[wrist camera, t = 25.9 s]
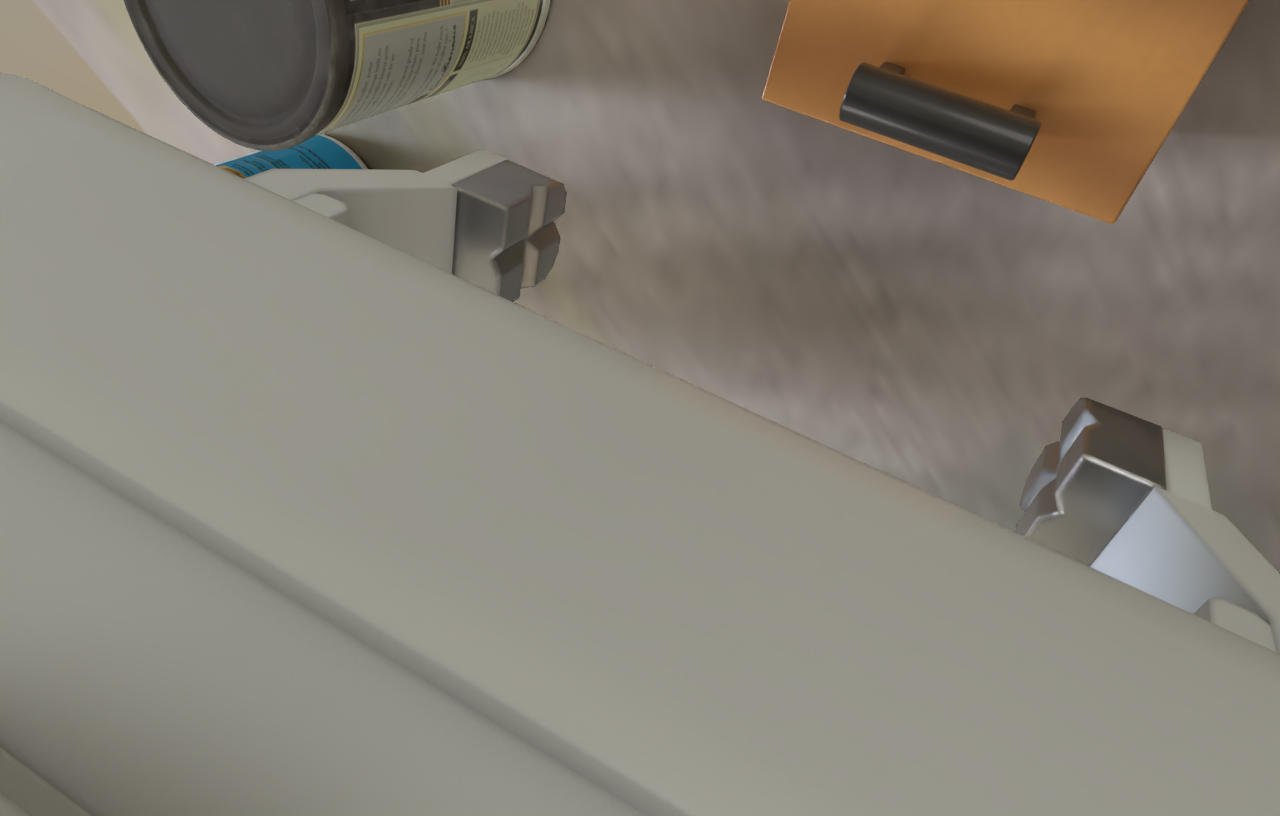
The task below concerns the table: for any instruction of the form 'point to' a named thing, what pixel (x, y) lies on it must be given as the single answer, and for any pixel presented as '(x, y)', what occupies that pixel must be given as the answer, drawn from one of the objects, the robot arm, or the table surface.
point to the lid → (1006, 83)
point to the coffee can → (325, 57)
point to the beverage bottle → (296, 158)
